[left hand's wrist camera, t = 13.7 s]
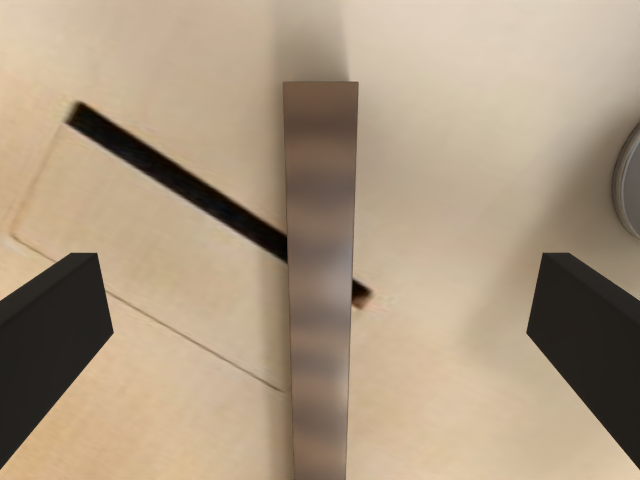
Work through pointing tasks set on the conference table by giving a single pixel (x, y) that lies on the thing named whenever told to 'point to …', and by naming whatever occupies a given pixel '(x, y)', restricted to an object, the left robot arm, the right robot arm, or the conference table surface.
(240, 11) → the conference table surface
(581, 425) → the conference table surface
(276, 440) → the conference table surface
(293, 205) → the post
